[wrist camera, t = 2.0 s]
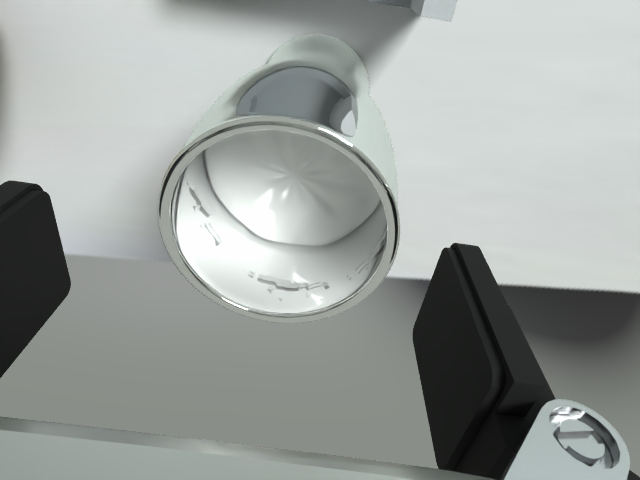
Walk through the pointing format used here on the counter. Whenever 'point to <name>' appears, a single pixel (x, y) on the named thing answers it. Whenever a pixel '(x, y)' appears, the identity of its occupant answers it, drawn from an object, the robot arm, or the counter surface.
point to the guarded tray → (426, 7)
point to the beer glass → (286, 189)
